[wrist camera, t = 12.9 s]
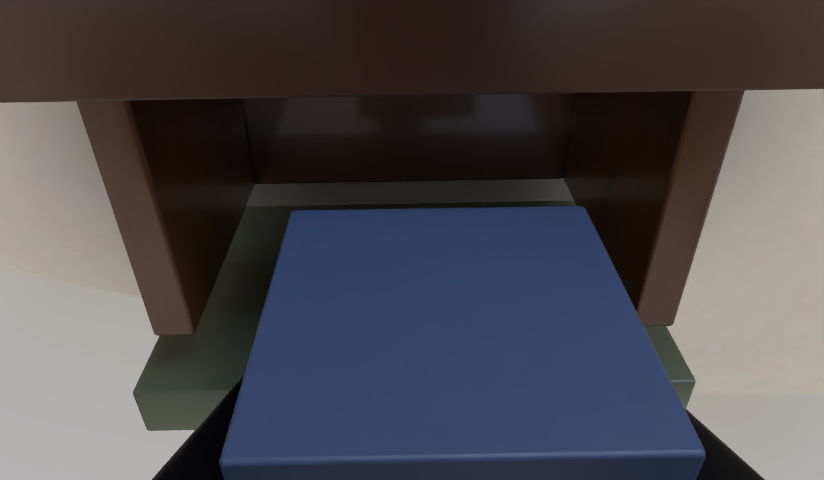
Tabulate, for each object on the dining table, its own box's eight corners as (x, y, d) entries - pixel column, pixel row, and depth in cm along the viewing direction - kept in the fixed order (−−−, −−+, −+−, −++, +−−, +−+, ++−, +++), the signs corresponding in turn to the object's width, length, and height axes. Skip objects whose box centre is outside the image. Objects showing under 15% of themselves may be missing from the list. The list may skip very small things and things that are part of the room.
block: (549, 404, 12) (619, 670, 8) (317, 408, 11) (279, 677, 8) (585, 204, 9) (709, 453, 5) (290, 208, 9) (216, 463, 5)
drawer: (573, 335, 21) (642, 534, 15) (249, 341, 21) (190, 544, 15) (691, -297, 12) (988, -424, 6) (111, -290, 12) (-185, -413, 6)
